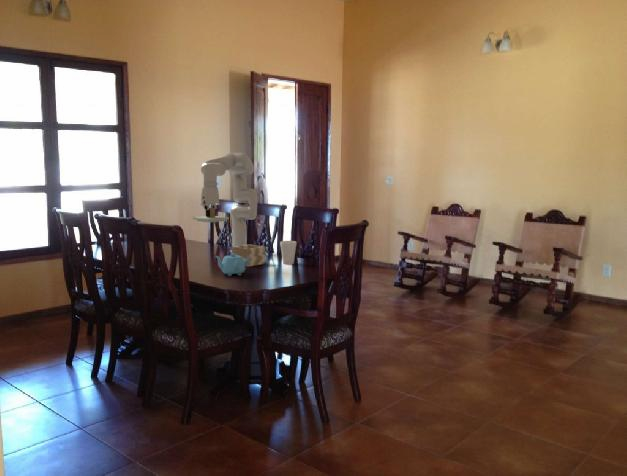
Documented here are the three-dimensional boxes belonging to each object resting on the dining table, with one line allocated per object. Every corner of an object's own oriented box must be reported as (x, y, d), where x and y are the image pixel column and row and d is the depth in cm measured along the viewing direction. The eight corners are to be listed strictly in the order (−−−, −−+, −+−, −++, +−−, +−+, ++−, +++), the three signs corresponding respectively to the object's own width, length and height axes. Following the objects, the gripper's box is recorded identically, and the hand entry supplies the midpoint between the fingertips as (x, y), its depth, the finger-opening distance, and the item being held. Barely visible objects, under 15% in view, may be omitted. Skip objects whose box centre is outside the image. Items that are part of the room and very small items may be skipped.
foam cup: (298, 262, 325) (298, 241, 323) (291, 265, 317) (291, 243, 315) (284, 261, 329) (284, 240, 327) (277, 264, 321) (277, 242, 319)
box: (249, 260, 331) (249, 244, 330) (265, 263, 323) (265, 246, 321) (232, 263, 321) (232, 246, 320) (248, 266, 312) (248, 249, 311)
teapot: (236, 278, 280) (236, 256, 278) (214, 275, 285) (214, 254, 284) (251, 273, 294) (251, 252, 292) (230, 270, 299) (230, 250, 298)
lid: (212, 219, 326) (212, 206, 325) (228, 221, 317) (228, 207, 315) (192, 220, 315) (192, 207, 314) (209, 222, 305) (208, 209, 304)
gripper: (217, 184, 322) (217, 215, 324) (194, 184, 309) (195, 216, 311) (225, 184, 317) (225, 216, 319) (202, 185, 304) (203, 217, 307)
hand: (210, 216), depth 315 cm, fingers closed on lid, 3 cm apart
